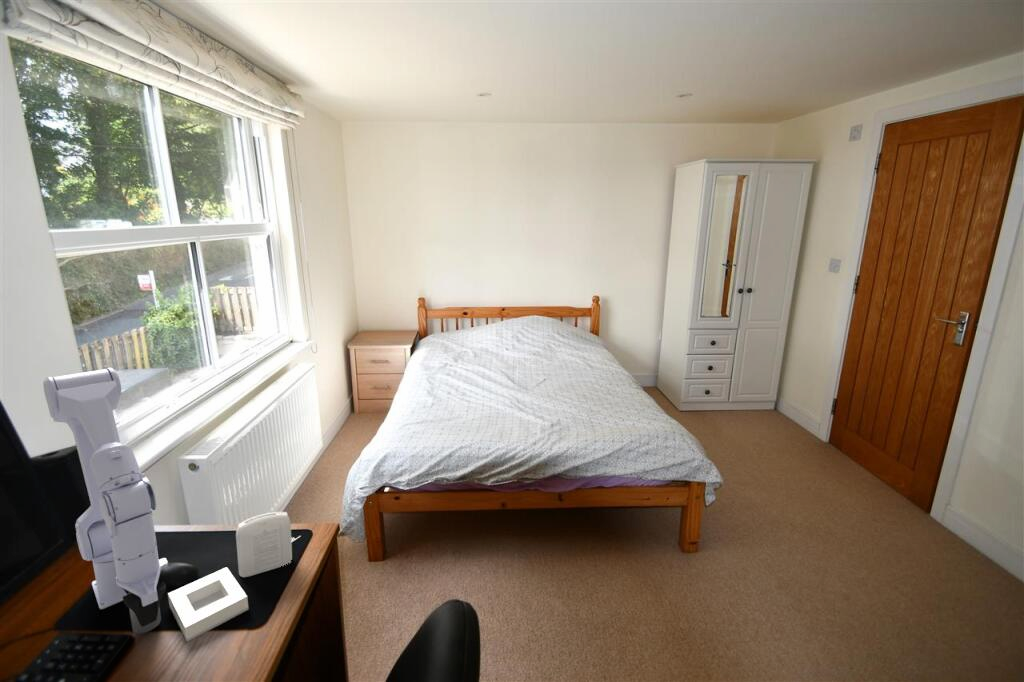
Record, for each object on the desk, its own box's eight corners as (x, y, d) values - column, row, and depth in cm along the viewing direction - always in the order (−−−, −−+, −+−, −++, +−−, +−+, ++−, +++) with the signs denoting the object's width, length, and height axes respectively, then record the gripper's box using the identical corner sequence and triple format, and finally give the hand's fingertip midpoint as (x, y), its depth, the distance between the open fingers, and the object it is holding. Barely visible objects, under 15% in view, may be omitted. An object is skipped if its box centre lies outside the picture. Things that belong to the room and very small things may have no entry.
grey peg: (130, 624, 82) (124, 591, 81) (157, 611, 85) (153, 579, 84) (135, 637, 80) (130, 603, 78) (163, 624, 83) (158, 591, 81)
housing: (169, 606, 88) (167, 593, 87) (228, 579, 95) (226, 566, 95) (187, 641, 81) (185, 627, 80) (248, 609, 88) (247, 596, 88)
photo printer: (291, 552, 104) (287, 503, 101) (294, 564, 101) (291, 514, 98) (238, 568, 98) (233, 517, 96) (239, 581, 95) (234, 529, 92)
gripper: (175, 558, 77) (184, 625, 80) (153, 520, 86) (162, 581, 90) (121, 580, 72) (133, 651, 75) (104, 537, 81) (115, 601, 84)
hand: (145, 615), depth 82 cm, fingers closed on grey peg, 4 cm apart
